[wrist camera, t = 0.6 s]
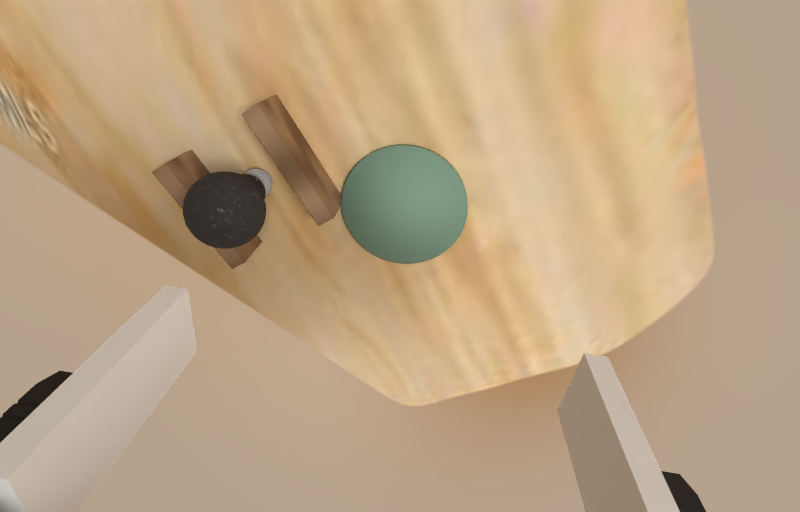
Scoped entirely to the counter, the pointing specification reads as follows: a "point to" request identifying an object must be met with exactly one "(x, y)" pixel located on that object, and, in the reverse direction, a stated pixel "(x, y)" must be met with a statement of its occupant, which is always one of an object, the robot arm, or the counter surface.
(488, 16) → the counter surface
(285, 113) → the pair of wooden planks
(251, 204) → the light bulb
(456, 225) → the pad
